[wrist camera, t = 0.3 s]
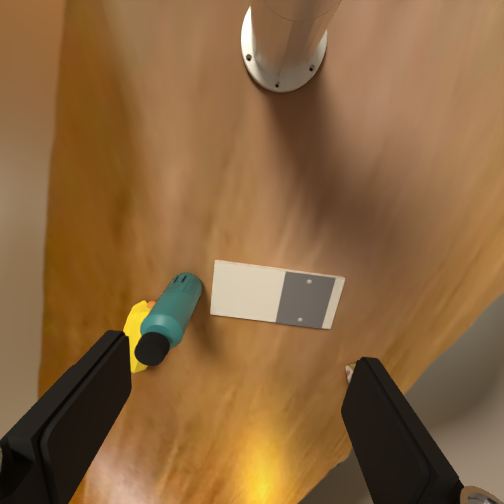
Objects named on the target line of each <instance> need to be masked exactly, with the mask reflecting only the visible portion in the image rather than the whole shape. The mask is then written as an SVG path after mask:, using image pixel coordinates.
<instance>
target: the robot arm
mask: <svg viewBox="0 0 504 504" xmlns="http://www.w3.org/2000/svg"><path fill="white" fill-rule="evenodd" d="M340 2H341V0H250V7H249V9H248V11H247V13H246V15H245V18H244V21H243V25H242V30H241V51H242V56H243V60H244V63H245V66H246V68H247V70H248V72H249V73H250V75H251V77H252V78H253V79H254V80H255V81H256V82H257V83H258V84H259V85H260V86H262V87H263V88H265V89H267V90H269V91H273V92H278V93H286V92H290V91H294V90H296V89H298V88H300V87H301V86H303V85H304V84H306V83H307V82H308V81H309V80H310V79H311V78H312V77H313V75H314V74H315V72H316V71H317V69H318V68H319V66H320V64H321V62H322V60H323V57H324V54H325V50H326V45H327V27H328V25H329V23H330V21H331V20H332V18H333V16H334V14H335V12H336V10H337V8H338V6H339V4H340ZM248 59H251V61H248ZM309 69H312V71H310V70H309ZM275 85H278V86H279V87H278V88H276V87H275ZM131 388H132V384H131V363H130V343H129V336H126V335H125V332H123V331H114V330H108V331H107V332H106V333H105V334H104V335H103V336H102V337H101V338H100V339H99V340H98V341H97V342H96V343H95V344H94V345H93V346H92V347H91V348H90V349H89V351H88V352H87V353H86V354H85V355H84V356H83V357H82V358H81V359H80V360H79V361H78V362H77V363H76V364H75V365H73V366H71V367H70V368H69V369H68V370H67V371H66V372H65V373H64V374H63V375H62V376H61V377H60V378H59V379H58V380H57V381H56V382H55V384H54V385H53V386H52V387H51V388H50V389H49V390H48V391H47V392H46V393H45V394H44V395H43V396H42V397H41V398H40V399H39V400H38V401H37V402H36V403H35V404H34V405H33V406H32V407H31V409H30V410H29V411H28V412H27V413H26V414H25V415H24V416H23V417H22V418H21V419H20V420H19V421H18V422H17V423H16V424H15V425H14V426H13V427H12V428H11V430H9V432H7V434H6V435H5V436H4V437H3V438H2V439H1V440H0V504H68V503H69V502H70V500H71V498H72V496H73V495H74V493H75V491H76V489H77V488H78V486H79V484H80V482H81V481H82V479H83V477H84V475H85V473H86V472H87V470H88V468H89V466H90V465H91V463H92V461H93V459H94V458H95V456H96V454H97V452H98V450H99V449H100V447H101V445H102V443H103V442H104V440H105V438H106V436H107V435H108V433H109V431H110V429H111V427H112V426H113V424H114V422H115V420H116V419H117V417H118V415H119V413H120V412H121V410H122V408H123V406H124V404H125V403H126V401H127V399H128V397H129V395H130V392H131ZM341 414H342V418H343V421H344V424H345V426H346V429H347V432H348V435H349V437H350V440H351V443H352V446H353V448H354V451H355V454H356V456H357V459H358V462H359V465H360V467H361V470H362V473H363V475H364V478H365V481H366V484H367V486H368V489H369V492H370V495H371V497H372V500H373V503H374V504H504V503H503V502H502V501H500V500H499V499H498V498H496V497H495V496H494V495H492V494H490V493H489V492H487V491H485V490H483V489H481V488H478V487H475V486H466V487H464V486H463V484H462V483H461V481H460V480H459V477H458V475H457V473H456V472H455V471H454V469H453V468H452V466H451V465H450V463H449V462H448V460H447V459H446V457H445V456H444V454H443V453H442V452H441V450H440V449H439V447H438V446H437V444H436V443H435V441H434V440H433V438H432V437H431V435H430V434H429V433H428V431H427V430H426V428H425V427H424V425H423V424H422V422H421V421H420V419H419V418H418V416H417V415H416V413H415V412H414V411H413V409H412V407H411V406H410V404H409V403H408V402H407V400H406V399H405V397H404V396H403V394H402V393H401V391H400V390H399V388H398V387H397V385H396V384H395V382H394V381H393V380H392V378H391V377H390V375H389V374H388V372H387V371H386V369H385V368H384V366H383V365H382V363H381V362H380V361H379V360H378V359H377V358H370V357H362V358H361V359H360V360H358V361H357V362H356V364H355V367H354V371H353V374H352V377H351V380H350V383H349V386H348V389H347V392H346V395H345V398H344V401H343V405H342V408H341Z"/></svg>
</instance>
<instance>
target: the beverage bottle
mask: <svg viewBox="0 0 504 504" xmlns="http://www.w3.org/2000/svg"><path fill="white" fill-rule="evenodd" d="M202 291H203V290H202V284H201V282H200V280H199V279H198V278H197V277H196V276H195V275H193V274H190V273H181V274H179V275H177V276H176V277H175V278H173V279H172V282H171V283H170V284H168V287H167V288H166V289H165V291H164V292H163V294H162V295H161V297H160V298H159V299H158V301H157V300H156V301H157V302H156V304H155V305H154V306H153V308H152V309H151V310H150V311H149V314H148V315H147V317H146V318H145V319H144V320H143V321H142V323H141V326H140V333H141V338H140V339H139V341H138V344H137V345H136V347H135V350H134V355H135V357H136V359H137V360H138V361H139V362H140V363H142V364H144V365H147V366H155V365H158V364H160V363H161V362H162V361H163V359H164V358H165V356H166V355H167V353H168V351H169V349H171V348H173V347H175V346H177V345H178V344H179V343H180V342H181V340H182V338H183V334H184V332H185V330H186V327H187V325H188V323H189V320H190V318H191V316H192V314H193V312H194V309H195V308H196V304H197V303H198V302H199V301H198V300H200V299H199V297H200V295H202Z"/></svg>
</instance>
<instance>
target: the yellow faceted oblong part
mask: <svg viewBox="0 0 504 504" xmlns="http://www.w3.org/2000/svg"><path fill="white" fill-rule="evenodd" d="M156 302H157V301H155V300H151V301H149V302H148V303H147V302H146V301H145V300H144V301H142V302H140V303H138V304H136V305H134V306H133V308H132V310H131V312H130V314H129V316H128V318H127V321H126V324H125V327H124V330H123V332H125V335H126V336H129V343H130V363H131V372H133V373H136V372H139V371H142V370H145V369H146V368H147V365H144V364H142V363H140V362H139V361H138V360H137V359H136V357H135V355H134V350H135V347H136V345H137V344H138V341H139V339H140V338H141V333H140V326H141V323H142V321H143V320H144V319H145V318H146V317H147V315H148V314H149V311H150V310H151V309H152V308H153V306H154V305H155V304H156Z"/></svg>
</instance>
